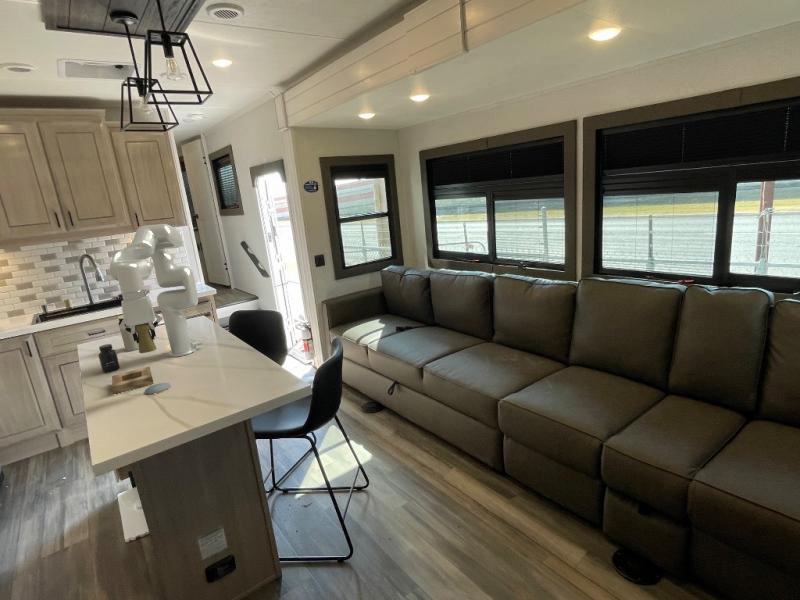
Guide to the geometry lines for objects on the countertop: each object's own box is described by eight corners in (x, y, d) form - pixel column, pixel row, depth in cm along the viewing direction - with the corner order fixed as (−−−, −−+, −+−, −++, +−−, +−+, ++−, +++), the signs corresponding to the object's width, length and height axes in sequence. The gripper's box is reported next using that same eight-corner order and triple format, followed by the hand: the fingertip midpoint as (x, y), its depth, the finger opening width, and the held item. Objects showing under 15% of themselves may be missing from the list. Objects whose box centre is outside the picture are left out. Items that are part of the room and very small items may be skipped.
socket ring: (151, 373, 187) (149, 366, 187) (153, 384, 176) (151, 376, 175) (114, 383, 180) (112, 376, 179) (114, 395, 169) (111, 387, 168)
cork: (138, 354, 162) (131, 326, 160) (139, 350, 168) (133, 323, 165) (156, 350, 165) (149, 323, 163) (157, 346, 170) (150, 320, 168)
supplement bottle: (111, 373, 192) (104, 348, 189) (99, 373, 194) (92, 348, 191) (123, 367, 199) (117, 343, 196) (111, 367, 200) (105, 343, 197)
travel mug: (146, 346, 225) (137, 314, 221) (130, 352, 219) (121, 318, 214) (138, 345, 230) (130, 313, 225) (122, 350, 223) (113, 317, 219)
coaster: (169, 382, 177) (168, 380, 177) (171, 389, 169) (171, 388, 169) (144, 388, 172) (144, 387, 172) (145, 396, 165) (145, 395, 165)
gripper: (158, 289, 168) (168, 332, 173) (107, 298, 160) (120, 343, 164) (160, 292, 162) (170, 337, 167) (107, 301, 154) (120, 348, 158)
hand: (145, 340), depth 166 cm, fingers closed on cork, 4 cm apart
